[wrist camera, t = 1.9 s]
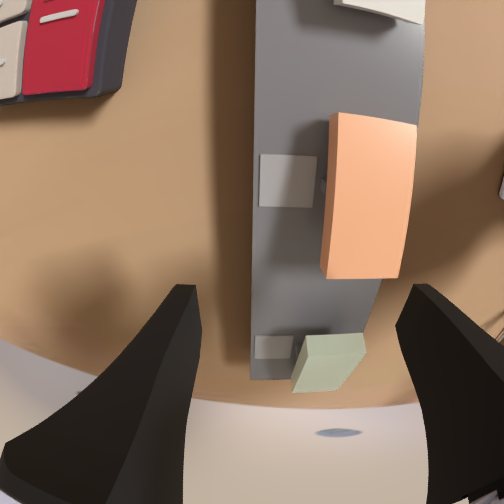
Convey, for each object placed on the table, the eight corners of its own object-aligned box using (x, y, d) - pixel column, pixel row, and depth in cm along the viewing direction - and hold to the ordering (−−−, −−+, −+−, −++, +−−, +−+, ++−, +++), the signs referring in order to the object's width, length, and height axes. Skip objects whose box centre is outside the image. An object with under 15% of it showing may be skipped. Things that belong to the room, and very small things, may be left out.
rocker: (362, 332, 17) (366, 352, 16) (334, 374, 22) (336, 390, 21) (305, 335, 17) (308, 356, 16) (290, 376, 22) (291, 393, 21)
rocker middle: (401, 126, 11) (416, 125, 10) (386, 265, 14) (397, 278, 13) (329, 115, 11) (338, 112, 10) (319, 266, 14) (326, 279, 13)
